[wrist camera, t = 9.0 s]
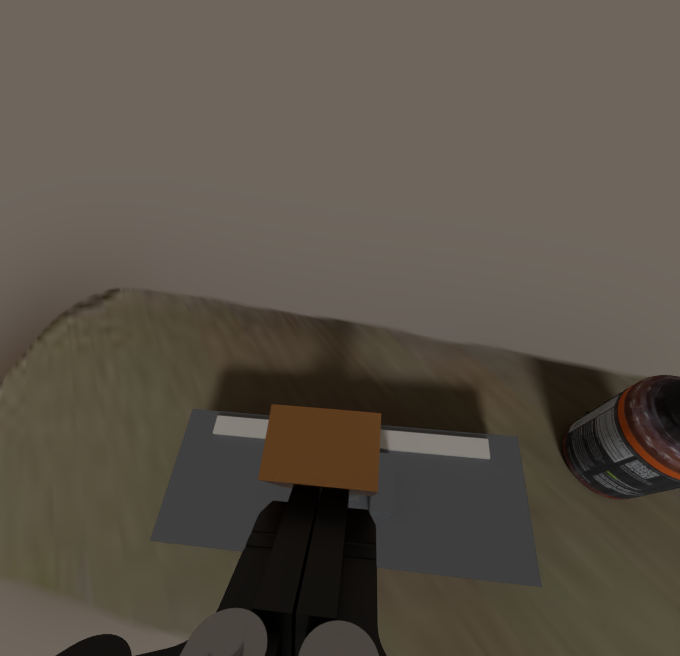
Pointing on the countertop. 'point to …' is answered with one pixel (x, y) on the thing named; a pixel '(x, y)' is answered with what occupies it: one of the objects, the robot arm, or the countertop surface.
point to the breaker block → (368, 497)
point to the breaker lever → (322, 449)
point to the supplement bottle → (629, 441)
